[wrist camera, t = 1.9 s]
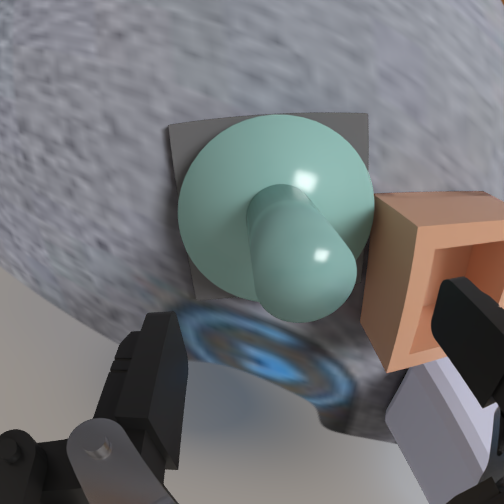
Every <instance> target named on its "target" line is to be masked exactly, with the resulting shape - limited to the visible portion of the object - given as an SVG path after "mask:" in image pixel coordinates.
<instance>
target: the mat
mask: <svg viewBox="0 0 504 504" xmlns="http://www.w3.org/2000/svg"><path fill="white" fill-rule="evenodd" d="M265 115H271V114H265ZM283 115H292V116H298V117H304V118H307V119H310V120H313V121H317V122H319V123H321V124H323V125H325V126H327V127H329V128H331V129H332V130H334V131H335V132H337V133H338V134H339V135H341V136H342V137H343V138H344V139H345V140H346V141H347V142H349V143H350V145H351V146H352V147H353V148H354V149H355V151H356V152H357V153H358V154H359V156H360V158H361V159H362V161H363V163H364V164H365V166H366V169H367V171H368V158H369V134H368V114H366V113H285V114H283ZM257 116H262V115H250V116H238V117H227V118H218V119H209V120H200V121H192V122H185V123H178V124H171V125H168V127H169V135H170V143H171V151H172V159H173V166H174V173H175V180H176V187H177V194H178V200H179V196H180V191H181V187H182V184H183V181H184V178H185V176H186V174H187V172H188V170H189V168H190V166H191V164H192V163H193V161H194V160H195V158H196V157H197V155H198V154H199V153H200V151H201V150H202V149H203V148H204V147H205V146H206V145H207V143H208V142H209V141H210V140H211V139H213V138H214V137H215V136H216V135H218V134H219V133H220V132H222V131H223V130H225V129H227V128H228V127H230V126H232V125H234V124H236V123H238V122H241V121H243V120H245V119H249V118H253V117H257ZM187 254H188V253H187ZM363 256H364V248H363V250H362V252H361V254H360V255H359V257H358V258H357V260H356V261H355V262H356V267H357V276H356V282H355V283H361V276H362V267H363ZM188 260H189V265H190V270H191V276H192V281H193V286H194V291H195V296H196V300H208V299H220V298H231V297H237V296H235V295H233V294H230V293H228V292H226V291H224V290H223V289H221V288H219V287H218V286H216V285H215V284H214V283H212V282H211V281H210V280H208V279H207V278H206V277H205V276H204V275H203V274H202V273H201V272H200V271H199V269H198V268H197V267H196V265H195V264H194V263H193V262H192V260H191V258H190V256H189V255H188Z"/></svg>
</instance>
